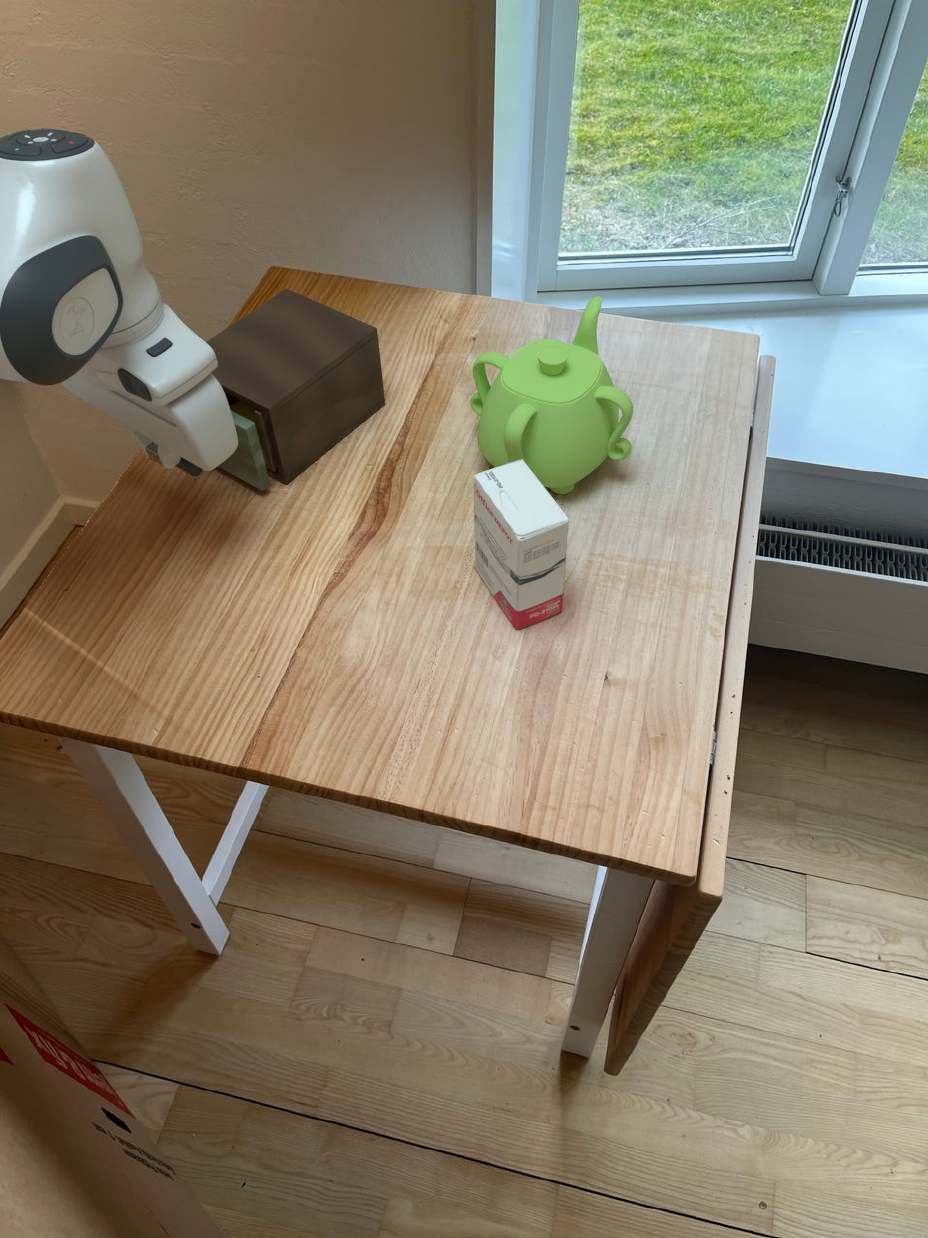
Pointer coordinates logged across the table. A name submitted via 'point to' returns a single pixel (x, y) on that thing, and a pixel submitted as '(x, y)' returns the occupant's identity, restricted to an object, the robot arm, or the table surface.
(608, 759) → the table surface
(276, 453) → the cabinet
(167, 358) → the robot arm
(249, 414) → the sponge
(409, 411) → the table surface
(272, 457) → the drawer
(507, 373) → the teapot
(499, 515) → the ink box
